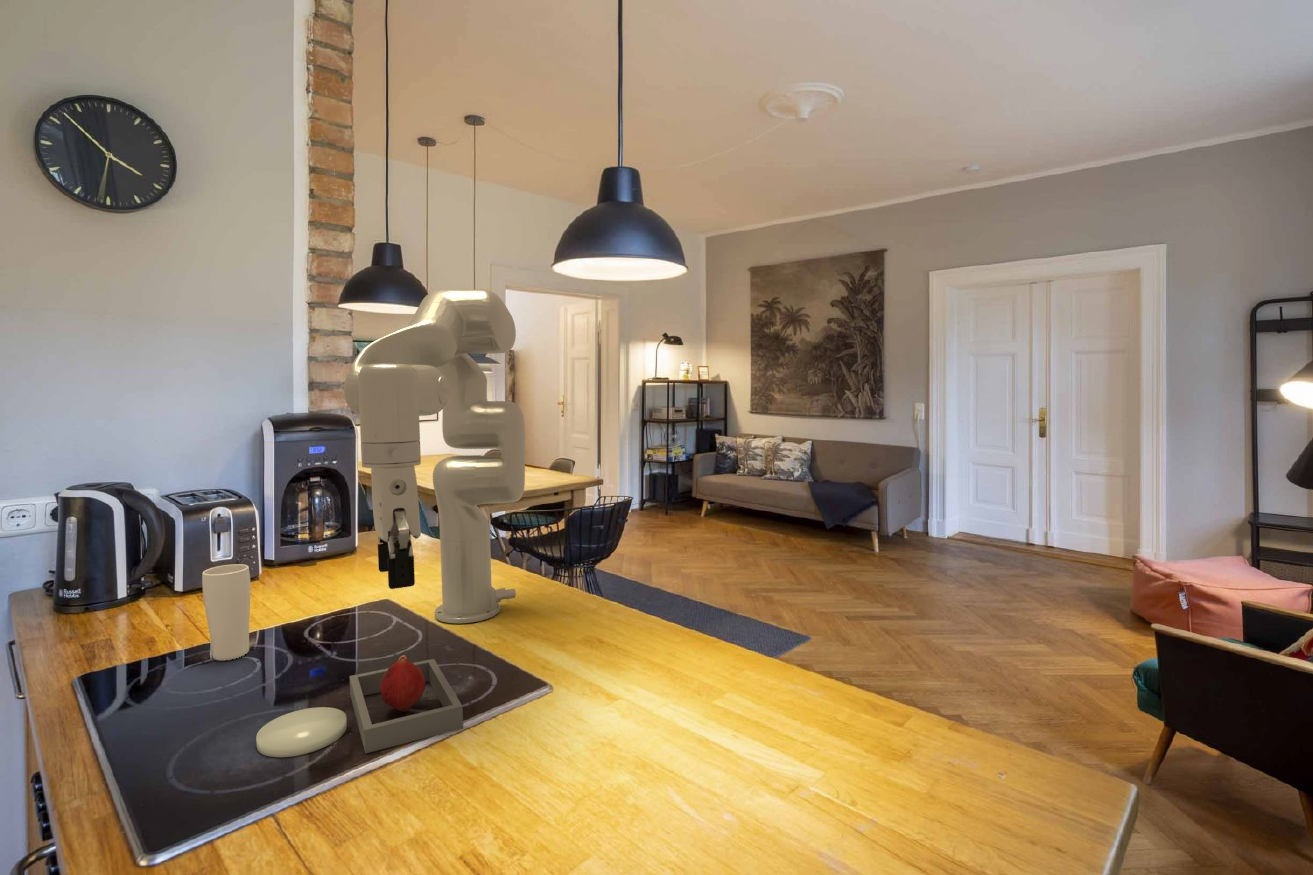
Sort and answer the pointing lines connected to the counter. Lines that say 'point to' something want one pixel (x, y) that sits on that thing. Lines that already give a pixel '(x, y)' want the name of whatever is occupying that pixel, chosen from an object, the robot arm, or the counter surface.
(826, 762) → the counter surface
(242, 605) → the drinking glass
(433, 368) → the robot arm
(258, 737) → the cream oval pebble
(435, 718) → the crate
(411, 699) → the onion
